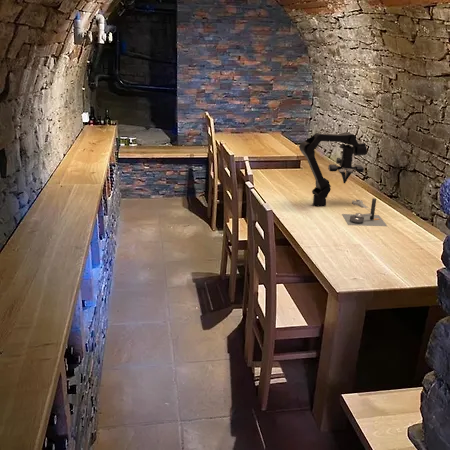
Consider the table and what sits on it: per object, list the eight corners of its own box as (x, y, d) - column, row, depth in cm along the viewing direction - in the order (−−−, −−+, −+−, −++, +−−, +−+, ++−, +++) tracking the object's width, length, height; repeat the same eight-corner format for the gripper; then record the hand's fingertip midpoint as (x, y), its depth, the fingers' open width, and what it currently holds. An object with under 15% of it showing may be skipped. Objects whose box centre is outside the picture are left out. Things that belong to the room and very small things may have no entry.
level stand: (347, 226, 250) (348, 224, 249) (341, 215, 265) (341, 213, 265) (387, 228, 249) (387, 225, 249) (378, 216, 265) (378, 214, 265)
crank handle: (347, 220, 254) (349, 199, 250) (360, 215, 263) (363, 195, 259) (361, 225, 249) (363, 203, 245) (374, 219, 257) (377, 198, 253)
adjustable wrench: (377, 216, 267) (377, 213, 267) (365, 216, 267) (366, 213, 266) (360, 202, 291) (360, 199, 290) (350, 202, 290) (350, 199, 289)
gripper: (360, 153, 281) (357, 179, 286) (328, 152, 281) (325, 178, 286) (365, 157, 270) (362, 185, 276) (331, 156, 270) (328, 184, 276)
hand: (344, 183), depth 279 cm, fingers closed
